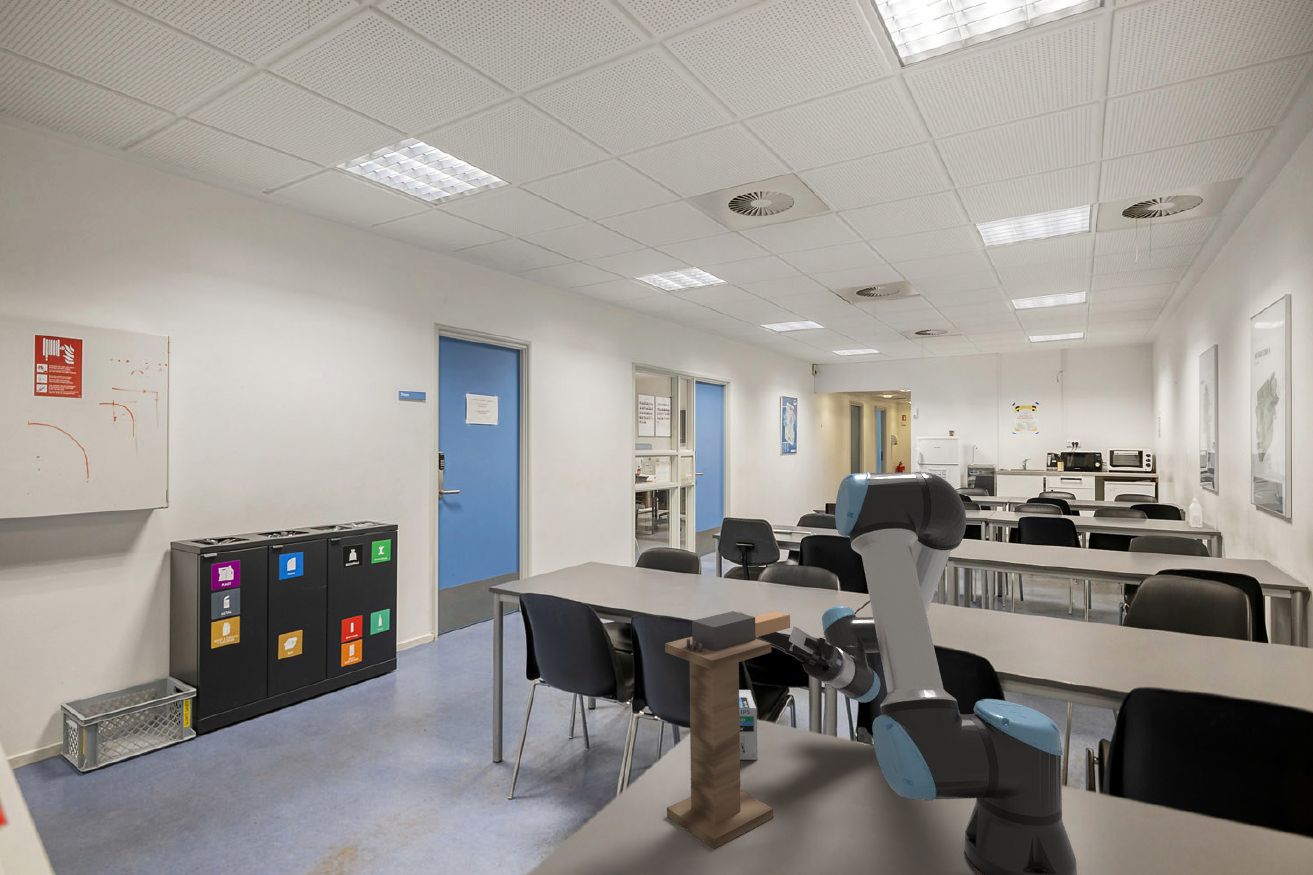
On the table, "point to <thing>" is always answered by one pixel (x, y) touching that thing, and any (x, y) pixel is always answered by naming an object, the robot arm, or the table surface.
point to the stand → (716, 745)
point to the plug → (736, 628)
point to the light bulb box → (747, 726)
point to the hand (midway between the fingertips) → (764, 626)
